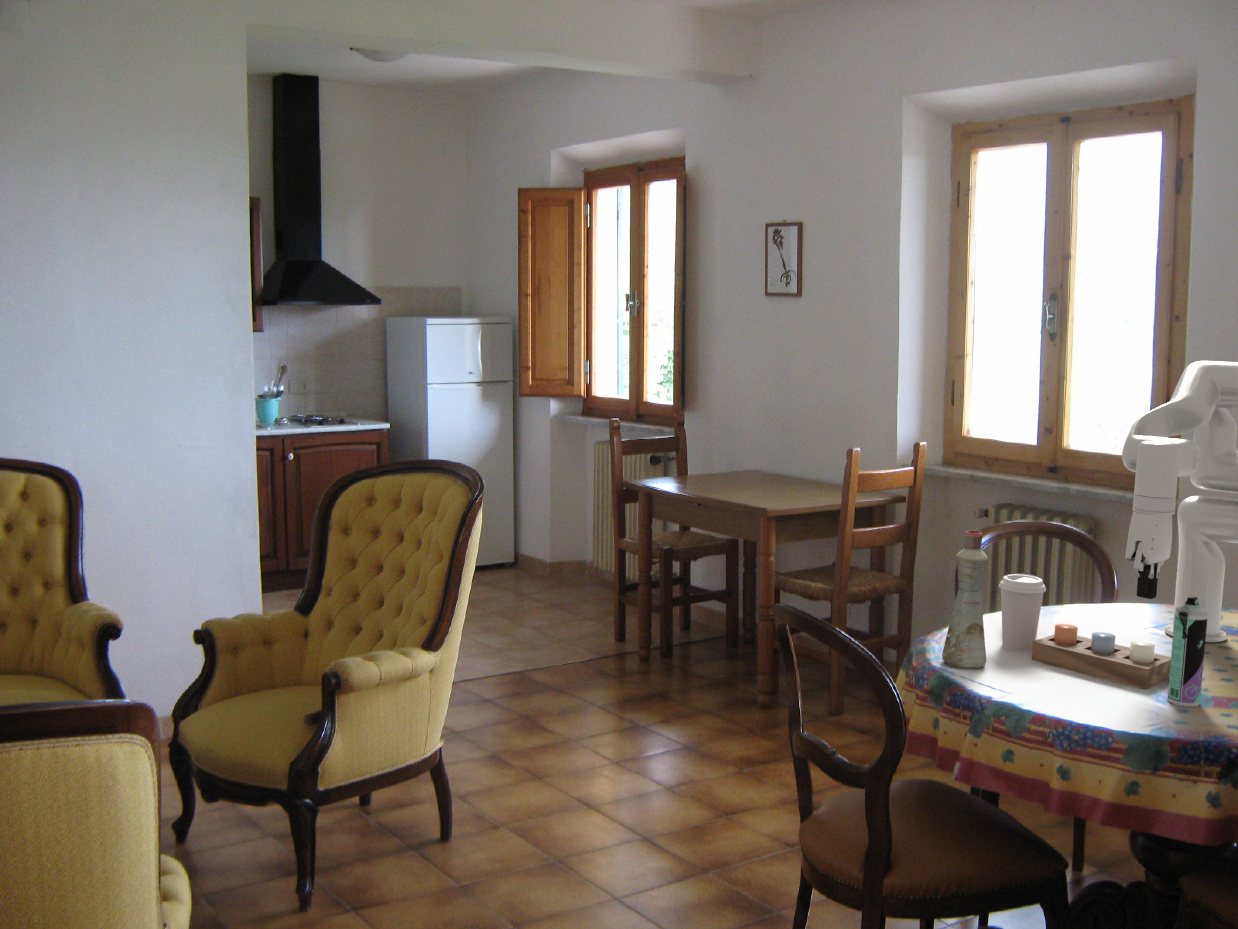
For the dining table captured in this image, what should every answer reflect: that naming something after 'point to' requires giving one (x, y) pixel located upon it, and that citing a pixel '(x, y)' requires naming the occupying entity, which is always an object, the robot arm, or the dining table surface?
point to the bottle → (968, 608)
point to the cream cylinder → (1142, 652)
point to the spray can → (1187, 654)
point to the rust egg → (1065, 634)
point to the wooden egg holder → (1102, 662)
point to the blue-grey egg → (1103, 642)
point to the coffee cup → (1020, 610)
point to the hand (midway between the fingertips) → (1146, 597)
